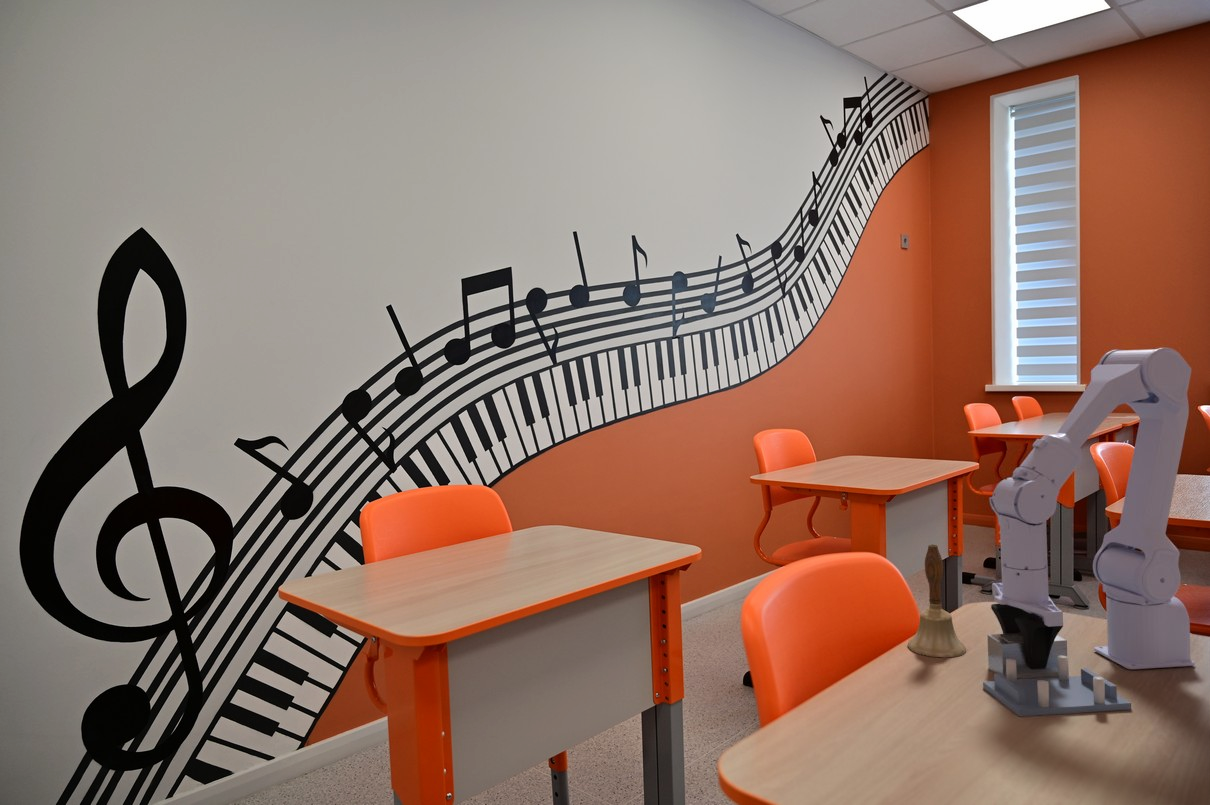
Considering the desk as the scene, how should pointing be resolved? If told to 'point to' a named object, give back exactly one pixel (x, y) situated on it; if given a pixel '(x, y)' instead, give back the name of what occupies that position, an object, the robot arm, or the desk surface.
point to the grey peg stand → (1055, 692)
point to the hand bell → (935, 617)
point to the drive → (1021, 655)
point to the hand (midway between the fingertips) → (1027, 661)
